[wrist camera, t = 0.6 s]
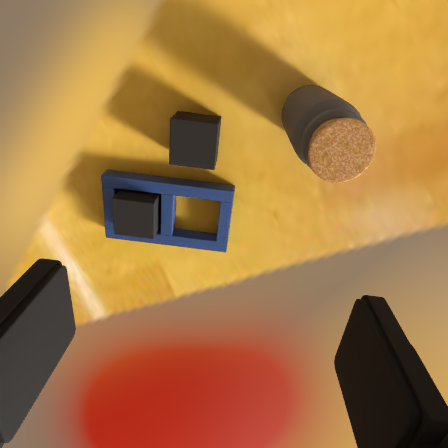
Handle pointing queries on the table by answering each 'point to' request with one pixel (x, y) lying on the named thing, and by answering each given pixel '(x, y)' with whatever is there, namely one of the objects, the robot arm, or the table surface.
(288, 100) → the bottle
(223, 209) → the frame
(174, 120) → the pad
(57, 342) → the robot arm
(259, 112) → the table surface
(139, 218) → the pad
